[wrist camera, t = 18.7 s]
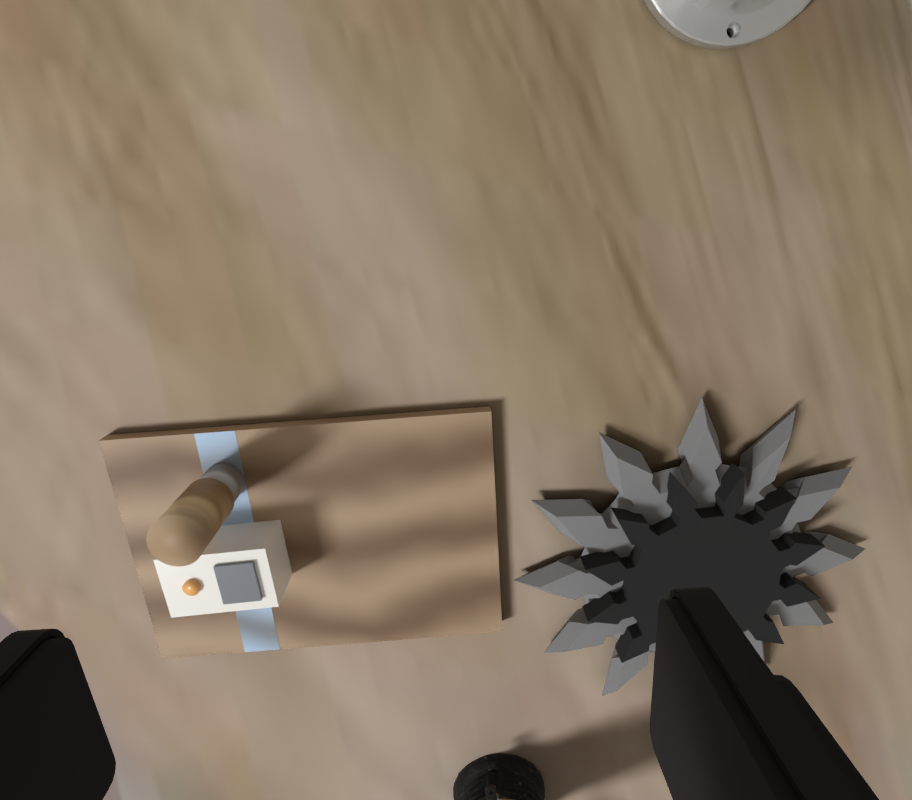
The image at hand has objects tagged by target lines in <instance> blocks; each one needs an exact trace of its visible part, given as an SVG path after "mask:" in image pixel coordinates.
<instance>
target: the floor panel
mask: <svg viewBox="0 0 912 800" xmlns="http://www.w3.org/2000/svg"><path fill="white" fill-rule="evenodd" d="M99 443H100V447H101V450H102V454H103V457H104V461H105V464H106V467H107V471H108V474H109V478H110V481H111V484H112V488H113V491H114V495H115V498H116V502H117V505H118V508H119V512H120V515H121V519H122V522H123V526H124V529H125V532H126V536H127V539H128V543H129V546H130V550H131V553H132V556H133V560H134V563H135V567H136V570H137V573H138V577H139V580H140V584H141V587H142V591H143V594H144V597H145V601H146V604H147V608H148V611H149V615H150V618H151V621H152V625H153V628H154V632H155V635H156V638H157V642H158V645H159V649H160V652H161V656H162V658H174V657H187V656H199V655H212V654H225V653H237V652H252V651H265V650H277V649H288V648H300V647H313V646H326V645H338V644H351V643H363V642H376V641H389V640H401V639H414V638H426V637H439V636H452V635H464V634H477V633H489V632H502V614H501V594H500V574H499V554H498V534H497V514H496V494H495V475H494V455H493V435H492V415H491V409H490V406H485V407H472V408H459V409H445V410H432V411H419V412H405V413H392V414H379V415H365V416H352V417H338V418H325V419H312V420H298V421H285V422H272V423H258V424H245V425H232V426H218V427H205V428H191V429H178V430H165V431H151V432H138V433H125V434H111V435H107V436H105V437H104V438H102V439H101V440H99ZM217 463H229V464H232V465H234V466H236V467H237V468H238V469H239V470H240V471H241V472H242V474H243V476H244V478H245V487H244V489H243V491H242V492H241V494H240V495H239V497H238V498H237V499H236V501H235V502H234V507H233V510H232V511H231V513H230V514H229V516H228V517H227V519H226V520H225V521H224V523H223V524H222V525H231V524H241V523H251V522H261V521H271V520H280V521H281V525H282V530H283V534H284V539H285V543H286V548H287V552H288V557H289V561H290V566H291V570H292V576H291V578H290V581H289V583H288V585H287V588H286V590H285V593H284V595H283V598H282V600H281V603H280V605H279V607H271V608H261V609H251V610H242V611H232V612H222V613H212V614H202V615H193V616H183V617H173V618H171V615H170V612H169V609H168V606H167V603H166V599H165V596H164V593H163V590H162V587H161V583H160V580H159V577H158V574H157V571H156V568H155V564H154V561H153V560H154V558H155V557H154V556H153V555H152V554H151V552H150V550H149V549H148V546H147V541H146V538H147V533H148V531H149V529H150V527H151V526H152V525H153V524H154V523H155V522H156V521H157V520H158V519H159V518H160V516H161V515H162V514H163V513H164V512H165V511H166V510H167V509H168V508H169V507H170V506H171V505H172V504H173V502H174V501H175V500H176V499H177V498H178V497H179V496H180V495H181V494H182V493H183V492H184V491H185V489H186V488H187V487H188V486H189V485H190V484H191V483H192V482H194V481H196V480H198V479H200V477H201V476H202V475H203V474H204V473H205V472H206V471H207V470H208V469H209V468H210V467H211V466H212V465H214V464H217Z"/></svg>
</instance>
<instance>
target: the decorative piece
mask: <svg viewBox="0 0 912 800" xmlns="http://www.w3.org/2000/svg"><path fill="white" fill-rule="evenodd" d="M795 412H796V409H795V410H794V411H792V412H791V413H790V414H788V415H787V416H785V417H784V418H782V419H781V420H780V421H778V422H777V423H775V424H774V425H773V426H772V427H771V428H770V429H769V430H768V431H767V432H765V433H764V434H763V435H762V436H761V437H760V438H759V439H758V440H757V441H755V442H754V443H753V444H752V445H751V446H750V447H749V448H748V449H747V450H745V451H744V452H743V453H742V454H741V455H740V461H739V467H737V466H736V465H734V464H733V463H732V464H731V465H724V464H721V463H722V460H721V453H720V446H719V440H718V436H717V434H716V431H715V429H714V426H713V423H712V421H711V418H710V416H709V413H708V411H707V408H706V406H705V403H704V401H703V398H702V399H701V401H700V403H699V405H698V407H697V409H696V412H695V414H694V416H693V418H692V420H691V422H690V424H689V427H688V429H687V431H686V433H685V435H684V437H683V439H682V442H681V444H680V446H679V448H678V450H677V451H678V454H679V456H680V459H681V461H682V463H681V465H680V466H678V467H674V468H670V469H666V470H663V471H659V472H655V473H652V472H651V470H650V468H649V466H648V465H647V463H646V461H645V459H644V458H643V456H642V454H641V452H640V451H637V450H635V449H633V448H631V447H629V446H627V445H625V444H623V443H620V442H618V441H616V440H614V439H612V438H610V437H608V436H606V435H604V434H601V433H599V437H600V442H601V447H602V453H603V458H604V463H605V468H606V474H607V478H608V480H609V481H610V482H611V483H612V484H613V485H614V487H615V488H616V489H617V490H618V491H619V494H618V496H617V497H616V499H615V500H614V501H613V503H612V504H611V505H610V506H609V507H608V508H607V509H606V510H605V511H604V512H603V513H598V512H597V511H596V510H595V508H594V506H593V504H592V502H591V500H586V499H557V500H531V501H532V502H533V503H534V504H535V505H536V506H537V507H538V508H539V509H540V511H541V512H542V513H543V514H544V515H545V516H546V517H547V518H548V519H549V521H550V522H551V523H552V524H553V525H554V526H555V527H556V528H557V529H558V530H559V532H560V533H561V534H562V535H564V536H566V537H568V538H569V539H571V540H573V541H574V542H576V543H578V544H579V545H581V546H585V548H584V550H583V553H582V555H581V556H580V558H577V559H576V558H574V557H571V556H569V555H568V556H566V557H564V558H561V559H559V560H557V561H555V562H552V563H550V564H548V565H545V566H543V567H541V568H538V569H536V570H534V571H531V572H529V573H527V574H525V575H523V576H521V577H519V578H517V579H515V580H514V581H517V582H520V583H523V584H526V585H529V586H532V587H535V588H537V589H540V590H543V591H546V592H549V593H552V594H555V595H559V596H563V597H567V598H571V599H574V600H576V599H577V598H579V597H580V596H583V599H584V601H585V603H586V605H584V606H583V608H582V609H578V610H577V611H576V613H575V614H574V615H573V616H572V618H571V619H570V620H569V621H568V622H567V624H566V625H565V626H564V627H563V629H562V630H561V631H560V632H559V633H558V635H557V636H556V637H555V638H554V640H553V641H552V642H551V644H550V645H549V646H548V648H547V649H546V650H545V652H544V653H547V652H566V651H571V650H576V649H581V648H585V647H590V646H595V645H600V644H603V643H604V641H605V638H606V637H607V636H611V635H612V636H614V637H615V638H617V639H618V641H617V642H616V645H615V649H614V652H613V656H612V660H611V663H610V667H609V671H608V674H607V678H606V682H605V686H604V689H603V693H602V695H605V694H608V693H611V692H614V691H617V690H618V689H619V688H620V687H622V686H623V685H624V684H625V683H626V682H627V681H628V680H630V679H631V678H632V677H633V676H634V675H635V674H636V673H638V672H639V671H640V670H641V669H642V668H643V667H645V666H646V665H647V661H648V654H649V652H655V646H656V633H657V619H658V606H659V602H660V600H664V599H669V594H670V592H671V590H673V589H683V588H699V587H709V588H711V589H712V590H713V591H714V592H715V593H716V594H717V596H718V597H719V599H720V600H721V602H722V603H723V604H724V606H725V607H726V609H727V610H728V611H729V613H730V614H731V616H732V617H733V619H734V620H735V621H736V623H737V624H738V626H739V627H740V628H741V630H742V631H743V633H744V634H745V636H746V637H747V638H748V640H749V641H750V643H751V644H752V645H753V647H754V648H755V650H756V651H757V653H758V654H759V655H760V657H761V658H762V660H763V661H764V662H765V654H764V644H763V641H766V642H773V643H780V644H784V643H783V641H782V639H781V637H780V635H779V632H778V630H777V628H776V626H775V624H774V622H773V621H772V620H771V618H770V617H769V616H768V615H777V616H779V617H780V619H781V621H782V624H783V626H801V625H825V624H829V623H833V622H832V620H831V619H830V618H829V616H828V615H827V614H826V612H825V611H824V610H823V608H822V607H821V606H820V604H819V603H818V602H817V599H820V598H819V597H818V596H817V595H816V594H815V593H814V592H813V591H812V590H811V589H810V588H809V587H808V586H806V585H805V584H804V583H802V582H801V581H799V580H798V579H796V578H795V577H794V576H795V575H798V574H802V573H806V574H808V575H810V576H813V575H815V574H817V573H820V572H822V571H825V570H827V569H830V568H832V567H835V566H837V565H840V564H842V563H845V562H847V561H850V560H852V559H854V558H855V557H856V556H857V555H858V554H860V553H861V552H862V551H863V550H864V549H865V548H862V547H860V546H857V545H855V544H852V543H850V542H847V541H845V540H842V539H840V538H837V537H835V536H832V535H830V534H825V533H817V532H810V531H808V532H806V533H801V532H800V528H799V525H798V522H802V521H807V520H811V519H812V517H813V516H814V515H815V514H816V513H817V512H818V511H819V510H820V509H821V508H822V507H823V505H824V504H825V503H826V502H827V501H828V500H829V499H830V498H831V497H832V496H833V495H834V493H835V492H836V491H837V490H838V489H839V488H840V486H841V485H842V483H843V481H844V480H845V478H846V476H847V474H848V473H849V471H850V469H851V467H849V468H844V469H840V470H835V471H830V472H826V473H821V474H816V475H812V476H807V477H803V478H798V479H794V480H789V481H786V482H785V484H784V486H783V487H781V488H779V489H777V488H775V487H774V486H773V485H772V484H771V482H773V481H774V480H775V478H776V475H777V472H778V470H779V467H780V464H781V462H782V459H783V456H784V453H785V451H786V448H787V445H788V443H789V440H790V437H791V432H792V427H793V422H794V417H795Z"/></svg>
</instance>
